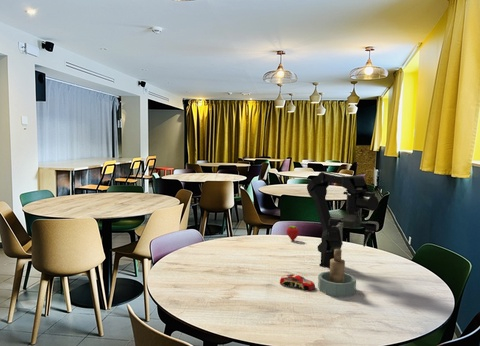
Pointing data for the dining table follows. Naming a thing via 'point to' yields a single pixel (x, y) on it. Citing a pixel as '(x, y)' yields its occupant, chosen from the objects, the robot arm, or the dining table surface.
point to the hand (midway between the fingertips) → (352, 244)
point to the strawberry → (292, 232)
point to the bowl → (337, 285)
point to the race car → (297, 282)
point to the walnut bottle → (337, 267)
